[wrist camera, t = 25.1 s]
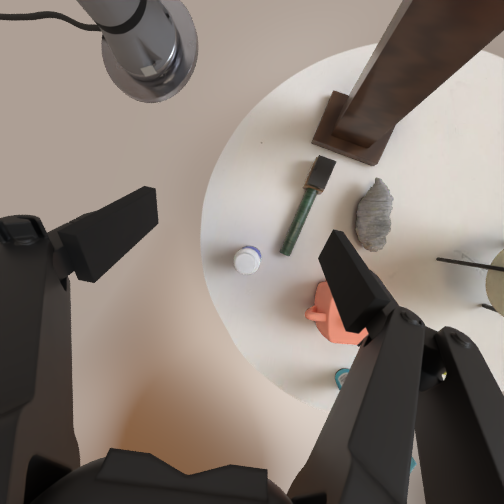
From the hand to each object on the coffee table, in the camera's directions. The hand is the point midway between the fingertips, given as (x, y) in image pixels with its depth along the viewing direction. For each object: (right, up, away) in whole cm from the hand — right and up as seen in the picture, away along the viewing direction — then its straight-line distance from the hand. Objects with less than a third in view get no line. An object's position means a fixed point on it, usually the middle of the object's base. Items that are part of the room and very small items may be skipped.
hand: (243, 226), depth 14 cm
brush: (+12, +7, +28) cm, 31 cm away
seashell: (+25, +6, +27) cm, 37 cm away
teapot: (+21, -14, +29) cm, 38 cm away
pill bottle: (0, -3, +30) cm, 30 cm away
